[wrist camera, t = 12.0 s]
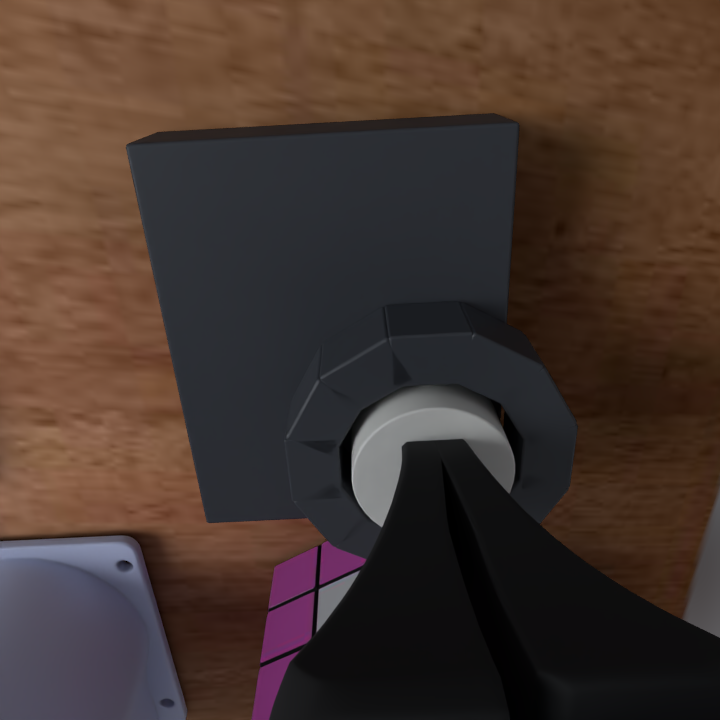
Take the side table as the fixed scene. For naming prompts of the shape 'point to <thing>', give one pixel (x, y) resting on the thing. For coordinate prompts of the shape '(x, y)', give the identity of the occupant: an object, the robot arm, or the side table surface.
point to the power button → (422, 438)
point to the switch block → (338, 302)
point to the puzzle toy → (299, 612)
